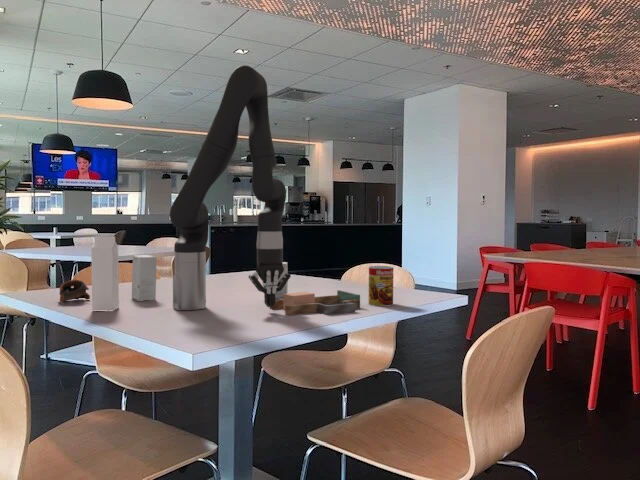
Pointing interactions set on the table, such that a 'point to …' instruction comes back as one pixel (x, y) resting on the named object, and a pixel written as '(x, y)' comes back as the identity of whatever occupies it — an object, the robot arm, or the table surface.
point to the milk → (105, 273)
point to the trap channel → (344, 298)
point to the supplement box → (284, 290)
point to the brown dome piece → (73, 290)
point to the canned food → (380, 285)
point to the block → (298, 298)
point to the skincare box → (144, 277)
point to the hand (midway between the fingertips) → (269, 306)
